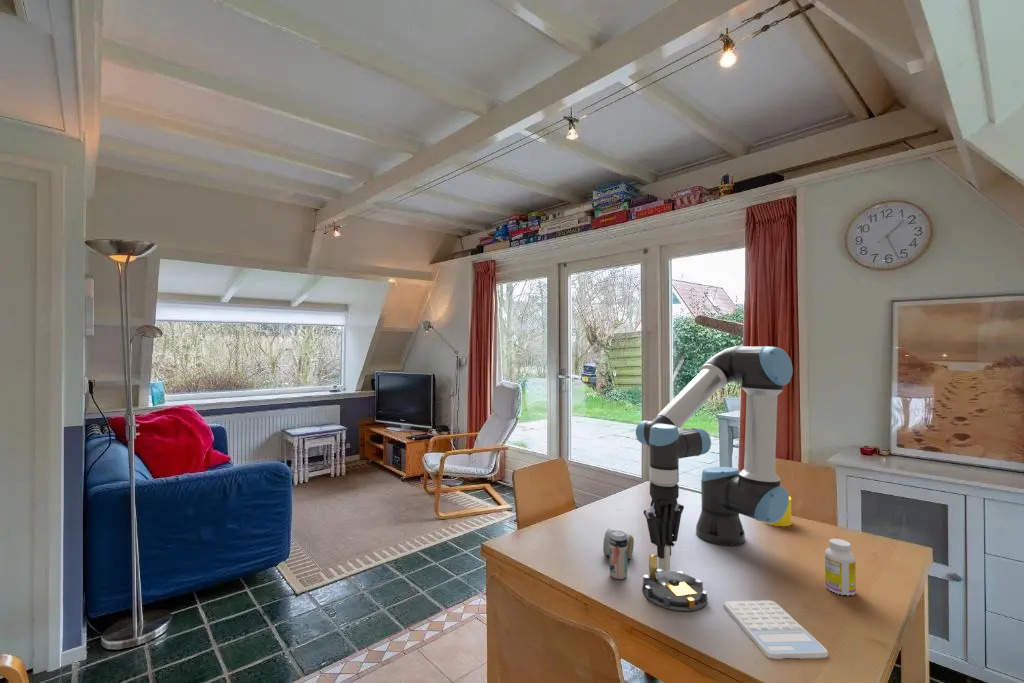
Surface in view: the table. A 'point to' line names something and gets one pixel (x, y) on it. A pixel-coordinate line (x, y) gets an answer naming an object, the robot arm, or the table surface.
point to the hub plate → (674, 608)
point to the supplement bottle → (840, 568)
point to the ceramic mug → (607, 544)
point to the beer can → (618, 555)
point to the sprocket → (673, 586)
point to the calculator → (774, 630)
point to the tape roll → (784, 517)
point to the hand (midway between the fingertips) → (664, 568)
